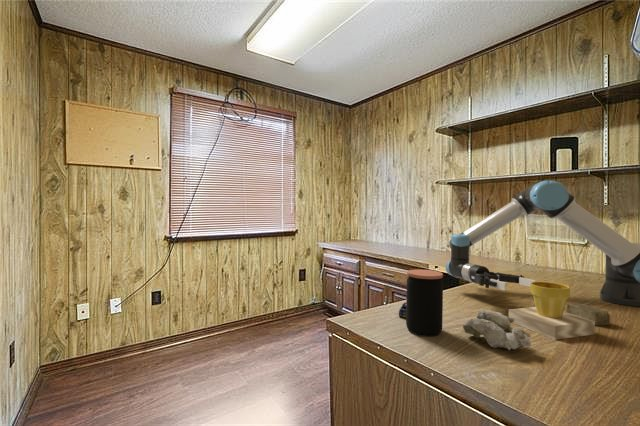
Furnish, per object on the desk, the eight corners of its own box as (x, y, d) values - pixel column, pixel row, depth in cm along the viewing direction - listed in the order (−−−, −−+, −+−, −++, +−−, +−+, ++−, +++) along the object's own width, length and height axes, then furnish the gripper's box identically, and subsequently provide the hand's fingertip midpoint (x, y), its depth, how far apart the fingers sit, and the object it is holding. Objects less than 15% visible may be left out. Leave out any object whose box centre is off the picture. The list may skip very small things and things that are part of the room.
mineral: (515, 354, 78) (527, 316, 80) (451, 328, 92) (463, 296, 94) (533, 366, 84) (544, 330, 87) (471, 340, 99) (482, 310, 101)
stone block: (596, 327, 104) (596, 312, 104) (564, 316, 116) (564, 302, 115) (611, 326, 105) (611, 311, 105) (578, 315, 116) (578, 301, 116)
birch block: (544, 317, 113) (544, 305, 113) (594, 334, 98) (594, 321, 98) (508, 321, 109) (508, 309, 109) (554, 339, 93) (555, 326, 93)
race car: (401, 307, 124) (401, 295, 124) (419, 309, 122) (419, 297, 122) (396, 319, 110) (397, 306, 110) (417, 322, 108) (417, 309, 108)
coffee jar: (441, 326, 103) (442, 270, 102) (442, 339, 93) (443, 277, 92) (407, 322, 106) (408, 268, 106) (404, 334, 96) (405, 274, 96)
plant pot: (533, 317, 100) (534, 286, 100) (526, 308, 110) (527, 279, 110) (574, 322, 96) (575, 290, 96) (563, 312, 106) (563, 282, 106)
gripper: (499, 281, 137) (547, 294, 117) (450, 284, 130) (492, 298, 110) (500, 263, 137) (548, 273, 117) (450, 266, 130) (492, 276, 110)
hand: (521, 285), depth 113 cm, fingers open, 13 cm apart
